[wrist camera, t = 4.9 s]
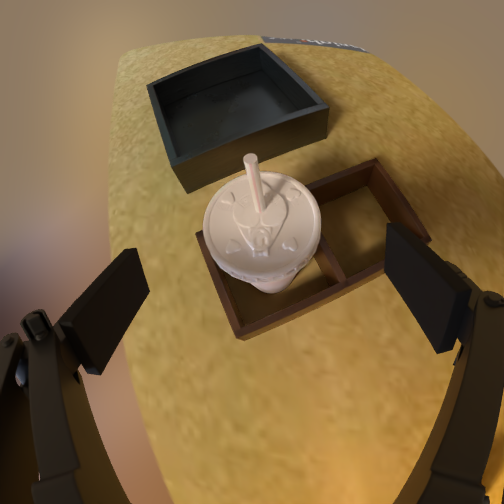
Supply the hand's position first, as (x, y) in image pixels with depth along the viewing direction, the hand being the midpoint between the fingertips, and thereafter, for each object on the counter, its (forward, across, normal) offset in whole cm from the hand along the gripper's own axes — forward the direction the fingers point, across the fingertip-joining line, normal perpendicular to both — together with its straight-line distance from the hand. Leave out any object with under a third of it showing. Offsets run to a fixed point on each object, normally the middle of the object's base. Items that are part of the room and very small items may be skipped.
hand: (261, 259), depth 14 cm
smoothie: (+8, 0, -5) cm, 10 cm away
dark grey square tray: (+22, -3, +8) cm, 23 cm away
